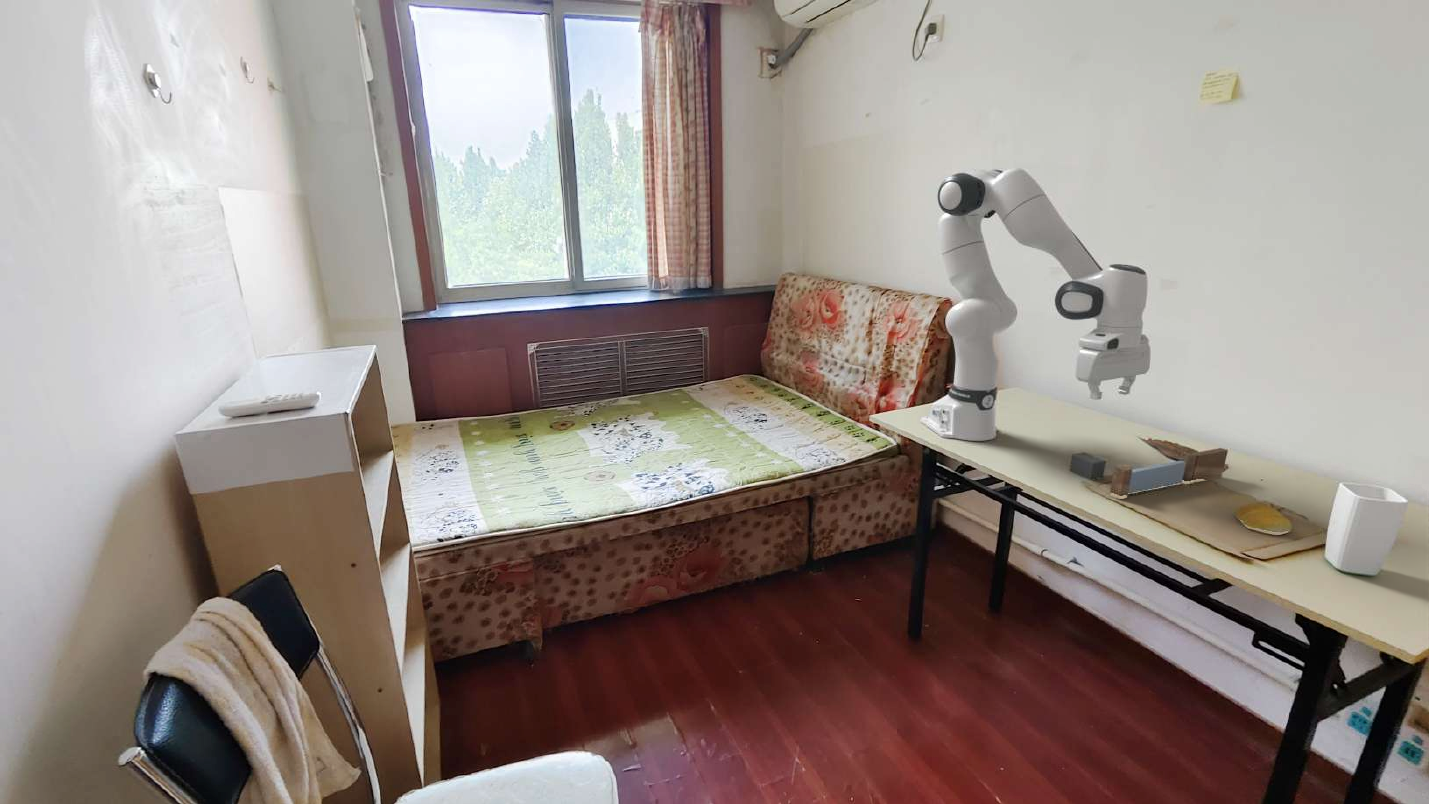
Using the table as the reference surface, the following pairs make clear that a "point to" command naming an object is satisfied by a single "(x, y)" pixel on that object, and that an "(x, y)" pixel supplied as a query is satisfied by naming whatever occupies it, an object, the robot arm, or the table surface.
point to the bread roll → (1263, 518)
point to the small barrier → (1195, 468)
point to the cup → (1363, 527)
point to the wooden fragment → (1173, 449)
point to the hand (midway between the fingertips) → (1109, 396)
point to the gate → (1156, 476)
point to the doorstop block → (1087, 466)
